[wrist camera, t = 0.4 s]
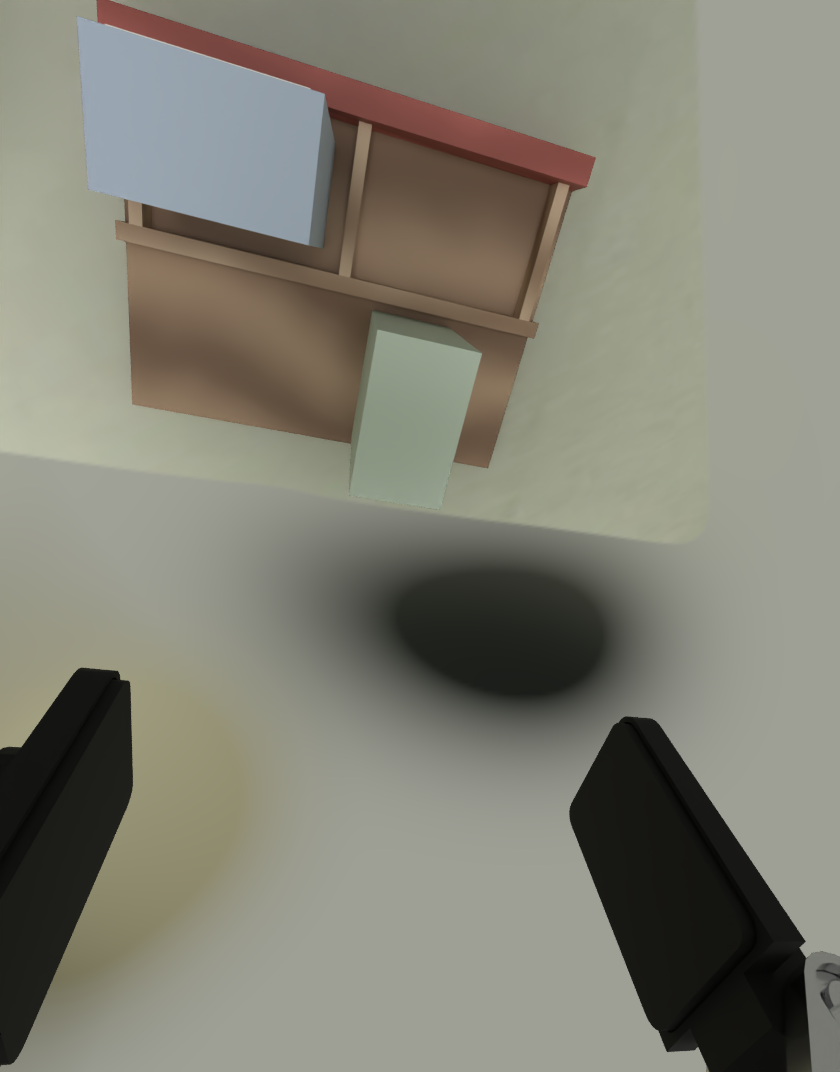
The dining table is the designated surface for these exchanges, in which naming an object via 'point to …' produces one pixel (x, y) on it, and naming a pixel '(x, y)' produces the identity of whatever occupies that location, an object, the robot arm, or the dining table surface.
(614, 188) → the dining table surface
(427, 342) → the sage carton
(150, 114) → the blue carton
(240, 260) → the shelf
